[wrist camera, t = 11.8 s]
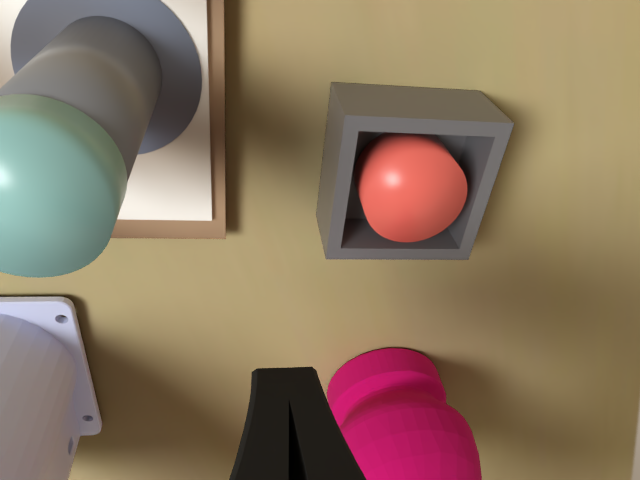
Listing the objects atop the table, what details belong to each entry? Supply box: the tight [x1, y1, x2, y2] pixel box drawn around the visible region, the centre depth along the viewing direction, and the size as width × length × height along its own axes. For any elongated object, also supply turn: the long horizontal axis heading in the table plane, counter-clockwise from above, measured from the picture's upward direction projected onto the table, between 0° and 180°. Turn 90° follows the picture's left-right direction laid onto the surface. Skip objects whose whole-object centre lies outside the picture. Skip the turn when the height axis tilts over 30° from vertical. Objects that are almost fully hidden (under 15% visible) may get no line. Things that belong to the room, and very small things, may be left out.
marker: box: [0, 16, 162, 277], centre depth 13 cm, size 3×3×8 cm
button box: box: [316, 82, 514, 260], centre depth 19 cm, size 6×6×3 cm
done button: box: [354, 132, 467, 242], centre depth 18 cm, size 4×4×2 cm
